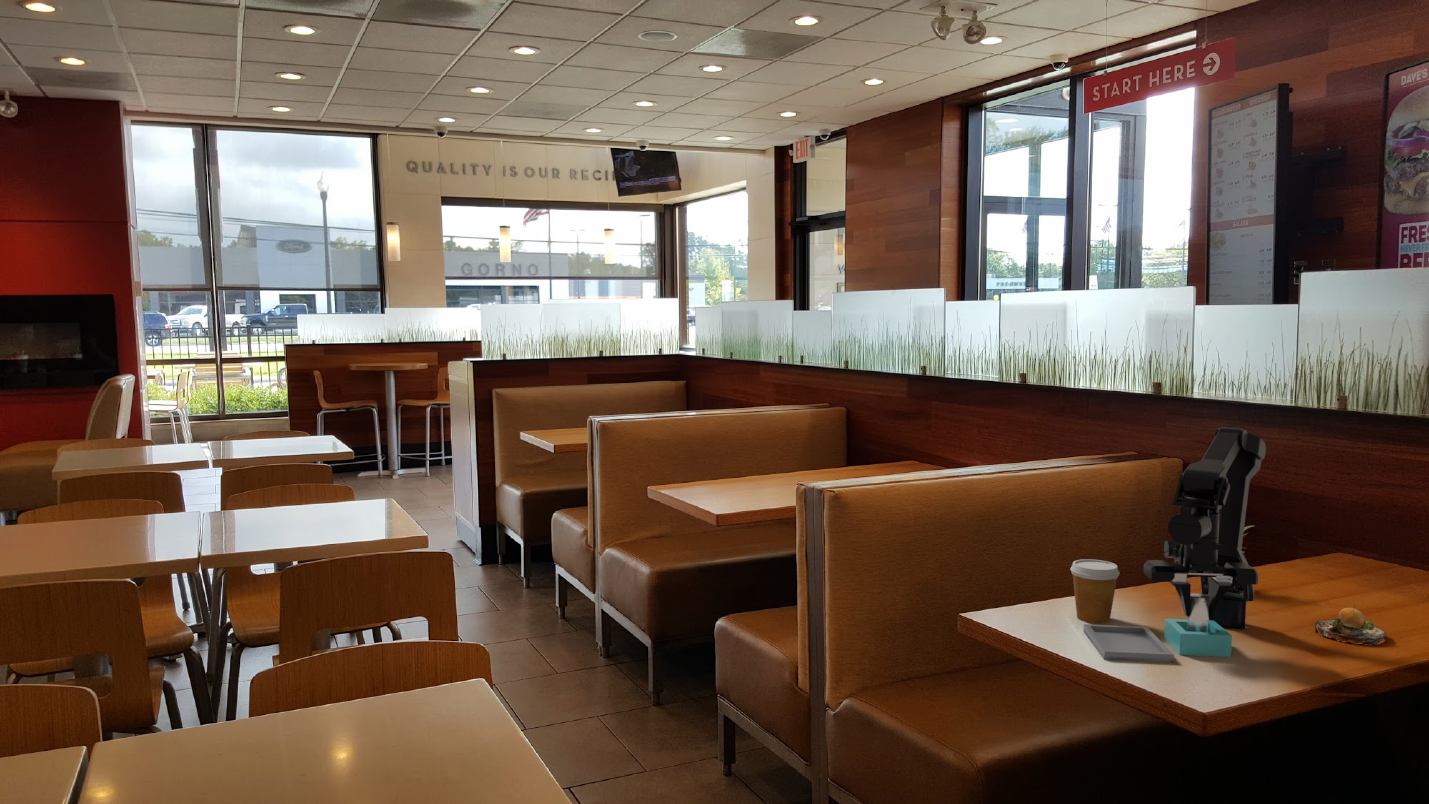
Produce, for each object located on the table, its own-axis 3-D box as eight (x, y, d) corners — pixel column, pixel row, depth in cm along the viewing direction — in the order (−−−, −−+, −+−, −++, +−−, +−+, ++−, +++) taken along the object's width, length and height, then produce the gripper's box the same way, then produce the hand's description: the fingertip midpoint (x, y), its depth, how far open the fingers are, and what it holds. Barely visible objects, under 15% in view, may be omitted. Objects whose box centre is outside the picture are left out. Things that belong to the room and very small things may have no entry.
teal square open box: (1212, 643, 188) (1213, 620, 187) (1230, 659, 179) (1232, 635, 179) (1163, 641, 189) (1164, 618, 189) (1179, 657, 180) (1180, 633, 180)
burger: (1391, 636, 192) (1393, 599, 192) (1380, 651, 184) (1382, 613, 183) (1321, 623, 201) (1323, 588, 200) (1307, 637, 192) (1309, 600, 191)
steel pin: (1203, 644, 185) (1205, 593, 185) (1210, 651, 182) (1212, 599, 181) (1183, 643, 186) (1185, 592, 185) (1189, 650, 182) (1192, 598, 181)
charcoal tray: (1146, 636, 192) (1146, 626, 192) (1173, 665, 176) (1173, 654, 176) (1083, 634, 193) (1083, 624, 193) (1104, 662, 178) (1104, 651, 178)
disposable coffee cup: (1109, 614, 206) (1111, 559, 205) (1124, 629, 197) (1126, 570, 196) (1063, 613, 207) (1065, 558, 206) (1075, 627, 198) (1077, 569, 197)
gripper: (1237, 527, 189) (1233, 605, 190) (1136, 525, 191) (1133, 602, 193) (1261, 540, 178) (1257, 623, 179) (1154, 537, 180) (1151, 619, 182)
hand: (1197, 616), depth 183 cm, fingers closed on steel pin, 4 cm apart
